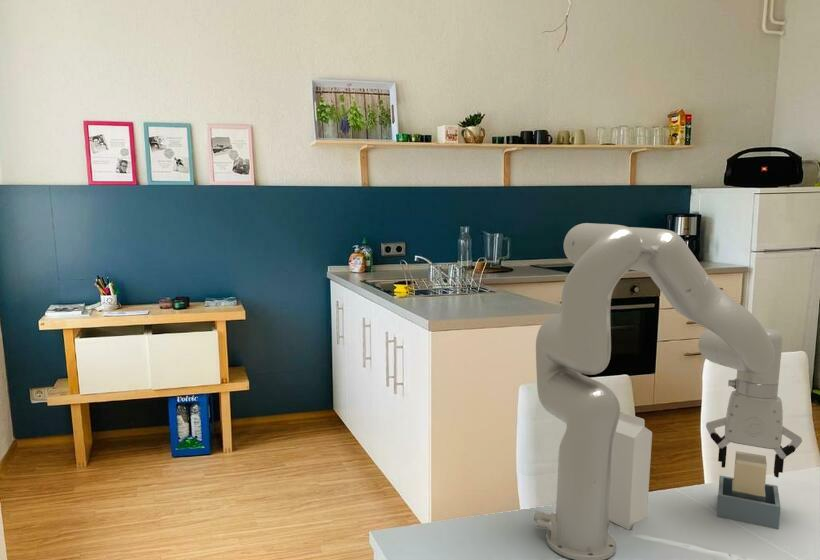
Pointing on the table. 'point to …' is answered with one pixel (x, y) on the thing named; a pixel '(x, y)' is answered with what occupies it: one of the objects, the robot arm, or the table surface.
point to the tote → (748, 505)
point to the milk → (630, 471)
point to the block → (747, 495)
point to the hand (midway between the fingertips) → (749, 470)
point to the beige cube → (750, 473)
